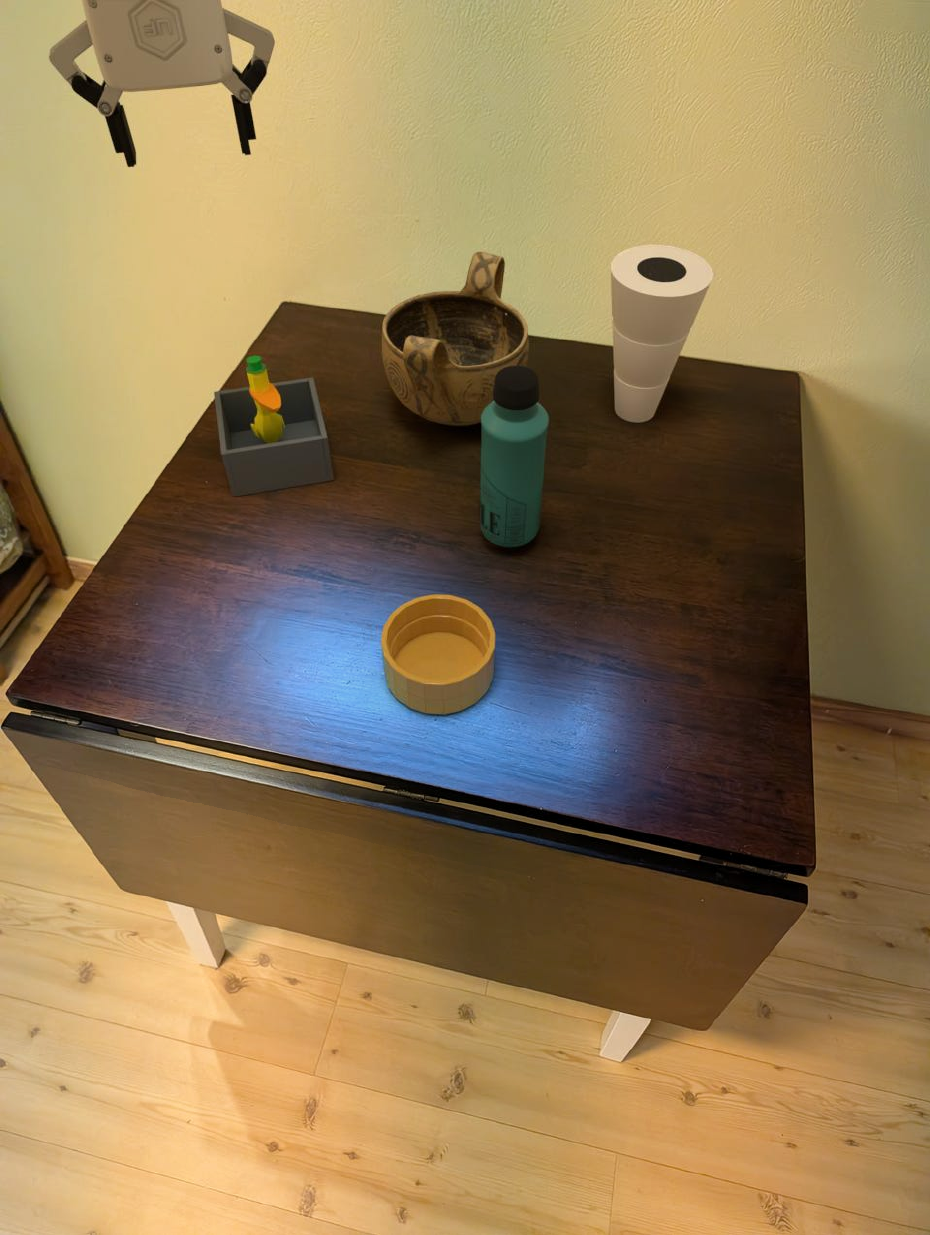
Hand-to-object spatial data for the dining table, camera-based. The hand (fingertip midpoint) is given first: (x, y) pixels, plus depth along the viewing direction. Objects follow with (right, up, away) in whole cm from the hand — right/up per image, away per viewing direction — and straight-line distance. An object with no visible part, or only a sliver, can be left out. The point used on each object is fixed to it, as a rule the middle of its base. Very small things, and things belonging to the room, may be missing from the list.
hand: (189, 154), depth 73 cm
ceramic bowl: (+23, -14, +30) cm, 40 cm away
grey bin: (+2, -22, +24) cm, 32 cm away
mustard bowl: (+22, -45, +5) cm, 50 cm away
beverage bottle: (+28, -32, +16) cm, 46 cm away
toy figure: (+2, -21, +24) cm, 32 cm away
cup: (+45, -15, +30) cm, 56 cm away
